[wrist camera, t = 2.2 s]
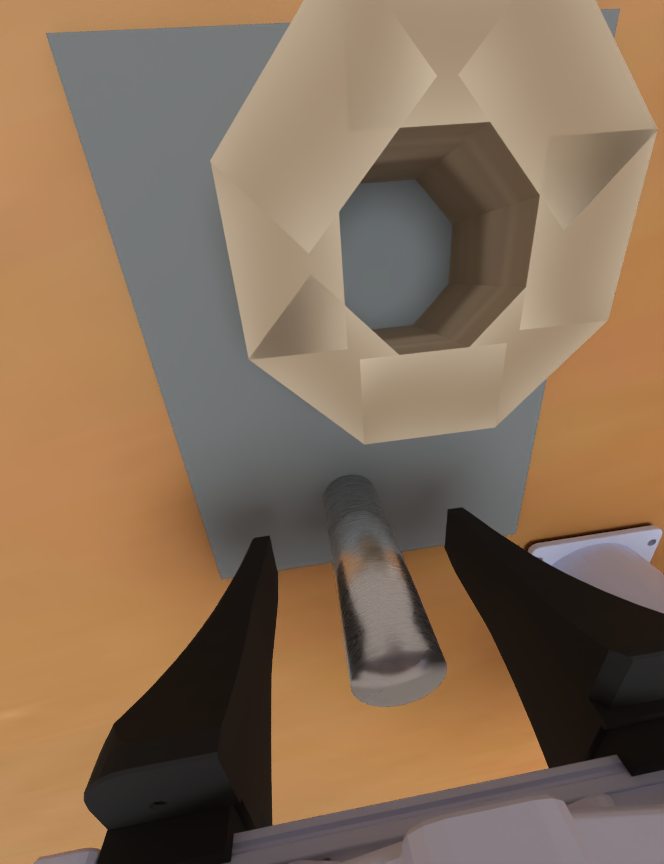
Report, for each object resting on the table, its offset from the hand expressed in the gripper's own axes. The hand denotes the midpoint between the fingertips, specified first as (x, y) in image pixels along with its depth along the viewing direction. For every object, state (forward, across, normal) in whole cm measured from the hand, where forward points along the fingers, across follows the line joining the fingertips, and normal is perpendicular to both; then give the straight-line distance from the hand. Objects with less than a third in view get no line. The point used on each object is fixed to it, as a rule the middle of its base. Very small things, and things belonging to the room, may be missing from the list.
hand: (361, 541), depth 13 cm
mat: (+3, -1, -6) cm, 7 cm away
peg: (+3, 0, 0) cm, 3 cm away
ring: (+3, -2, -10) cm, 11 cm away
